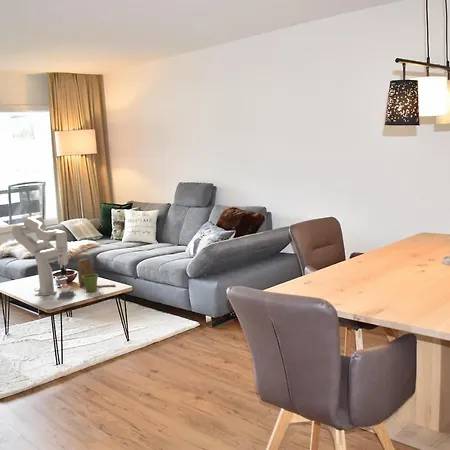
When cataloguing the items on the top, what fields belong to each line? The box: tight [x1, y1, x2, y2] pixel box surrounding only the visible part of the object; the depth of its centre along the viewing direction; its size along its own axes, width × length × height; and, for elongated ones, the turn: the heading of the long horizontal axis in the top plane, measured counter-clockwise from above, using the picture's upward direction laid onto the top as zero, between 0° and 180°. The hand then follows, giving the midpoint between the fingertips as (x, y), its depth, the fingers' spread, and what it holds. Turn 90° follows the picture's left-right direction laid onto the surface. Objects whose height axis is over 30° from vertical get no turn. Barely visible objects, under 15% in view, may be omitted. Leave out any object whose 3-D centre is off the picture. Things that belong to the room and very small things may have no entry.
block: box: [77, 258, 95, 287], centre depth 412 cm, size 11×8×20 cm
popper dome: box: [60, 283, 72, 293], centre depth 381 cm, size 6×6×8 cm
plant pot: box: [82, 273, 99, 293], centre depth 394 cm, size 12×12×11 cm
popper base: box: [57, 289, 76, 300], centre depth 382 cm, size 10×10×4 cm
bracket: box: [97, 284, 116, 288], centre depth 404 cm, size 15×3×1 cm, turn 91°
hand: (63, 274), depth 380 cm, fingers closed
